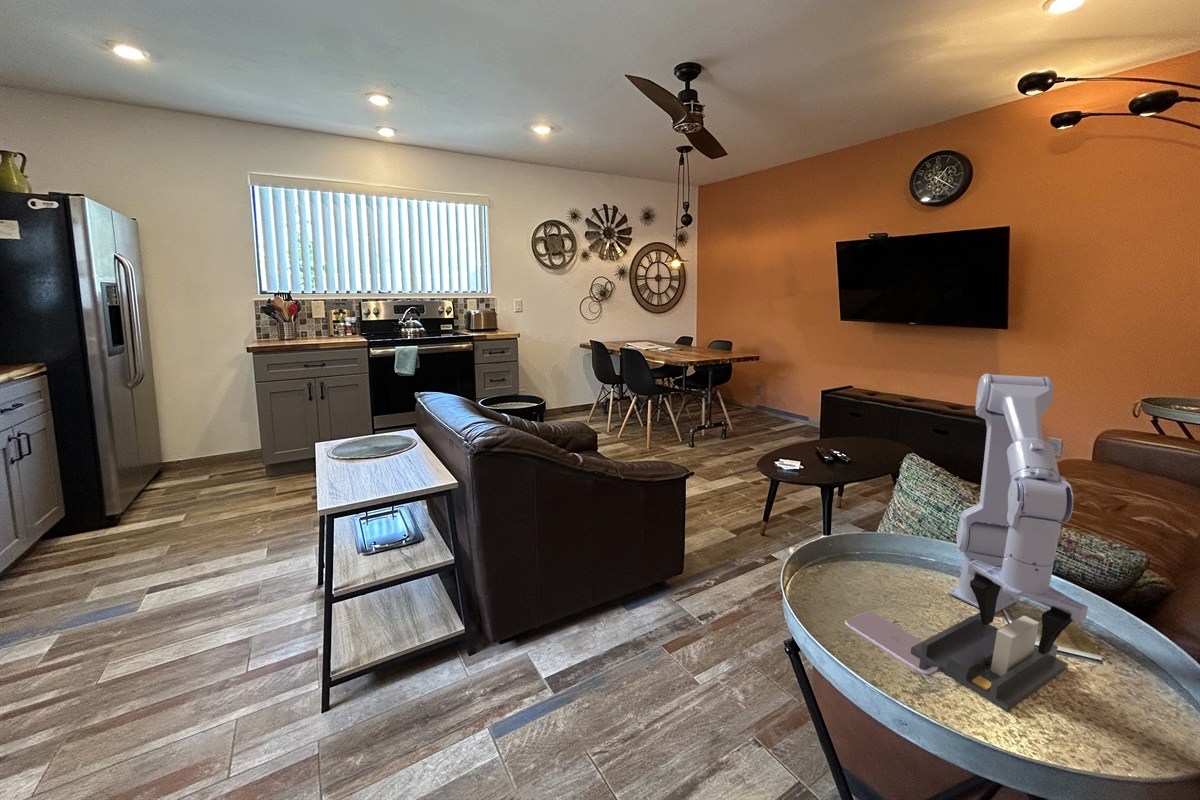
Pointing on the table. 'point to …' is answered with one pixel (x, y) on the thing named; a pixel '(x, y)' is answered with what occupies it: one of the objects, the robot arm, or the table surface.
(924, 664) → the mobile phone
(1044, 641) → the robot arm
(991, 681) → the charcoal rack
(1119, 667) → the table surface
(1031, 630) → the panel
